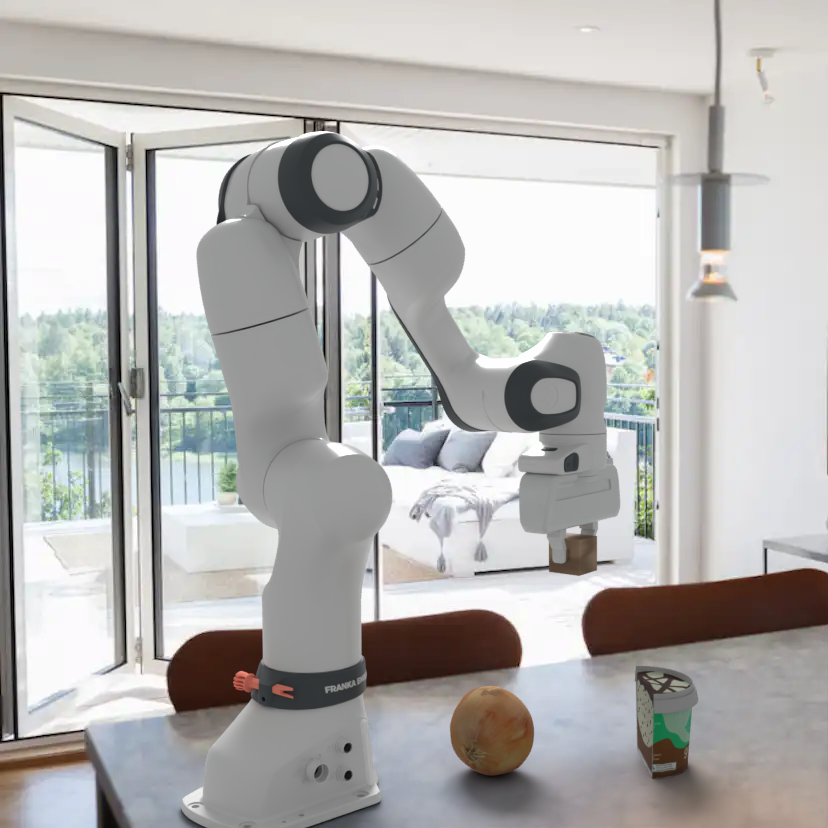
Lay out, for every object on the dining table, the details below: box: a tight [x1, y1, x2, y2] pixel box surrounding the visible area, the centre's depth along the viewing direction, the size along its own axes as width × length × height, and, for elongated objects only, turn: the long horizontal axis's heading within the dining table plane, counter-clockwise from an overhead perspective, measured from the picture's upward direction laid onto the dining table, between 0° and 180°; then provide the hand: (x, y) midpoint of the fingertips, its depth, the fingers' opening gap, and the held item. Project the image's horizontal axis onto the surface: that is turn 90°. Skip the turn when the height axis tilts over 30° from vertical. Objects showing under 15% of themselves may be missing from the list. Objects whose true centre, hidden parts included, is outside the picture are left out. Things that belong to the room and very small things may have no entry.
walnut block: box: [548, 532, 598, 577], centre depth 145 cm, size 5×5×5 cm
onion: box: [449, 685, 535, 776], centre depth 126 cm, size 10×10×10 cm
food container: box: [634, 665, 699, 779], centre depth 129 cm, size 12×6×10 cm, turn 179°
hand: (572, 558), depth 145 cm, fingers closed on walnut block, 5 cm apart
